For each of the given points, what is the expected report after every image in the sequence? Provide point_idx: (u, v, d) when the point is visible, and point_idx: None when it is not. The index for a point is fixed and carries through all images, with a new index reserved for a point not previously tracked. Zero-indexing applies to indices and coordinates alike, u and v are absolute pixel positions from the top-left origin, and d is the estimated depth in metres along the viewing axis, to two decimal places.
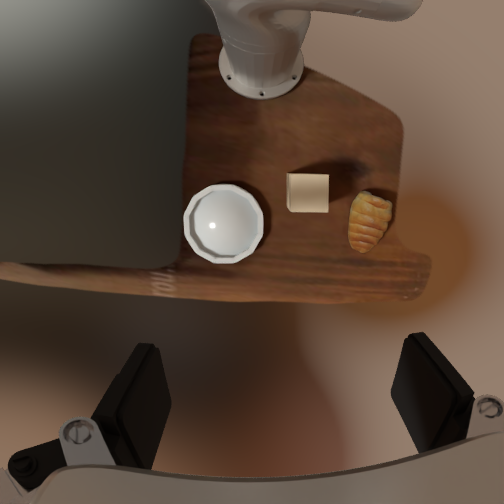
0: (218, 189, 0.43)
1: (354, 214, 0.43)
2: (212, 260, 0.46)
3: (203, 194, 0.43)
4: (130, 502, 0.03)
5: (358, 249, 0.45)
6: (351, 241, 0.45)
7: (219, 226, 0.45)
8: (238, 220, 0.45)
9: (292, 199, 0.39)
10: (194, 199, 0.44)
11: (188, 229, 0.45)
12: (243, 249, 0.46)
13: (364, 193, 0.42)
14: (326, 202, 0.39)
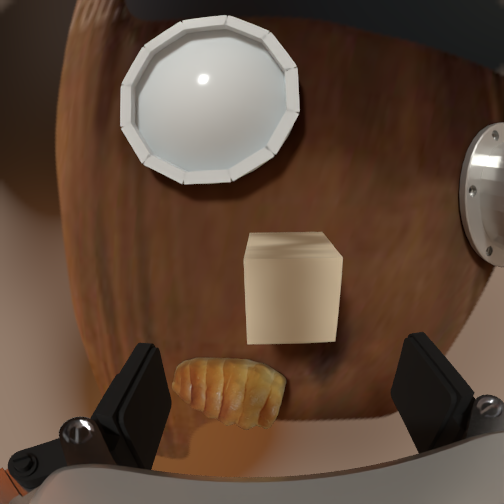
0: (288, 82, 0.17)
1: (241, 374, 0.22)
2: (126, 80, 0.17)
3: (275, 51, 0.16)
4: (130, 502, 0.03)
5: (176, 380, 0.23)
6: (188, 369, 0.23)
7: (200, 86, 0.18)
8: (215, 126, 0.18)
9: (277, 262, 0.15)
10: (264, 34, 0.16)
11: (195, 25, 0.16)
12: (150, 143, 0.19)
13: (283, 387, 0.22)
14: (270, 340, 0.16)
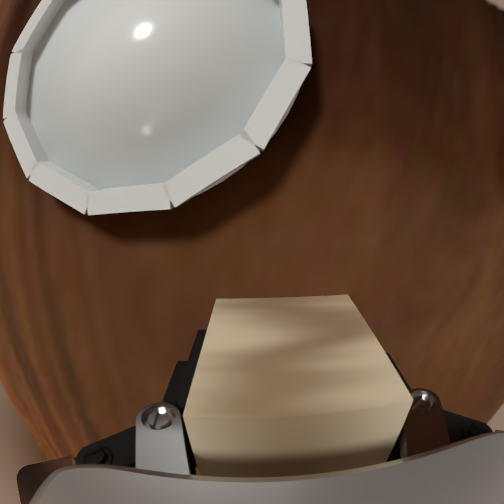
0: (287, 11, 0.07)
1: None
2: (18, 45, 0.07)
3: None
4: (130, 502, 0.03)
5: None
6: None
7: (125, 34, 0.08)
8: (146, 100, 0.09)
9: (263, 423, 0.05)
10: None
11: None
12: (44, 142, 0.09)
13: None
14: None
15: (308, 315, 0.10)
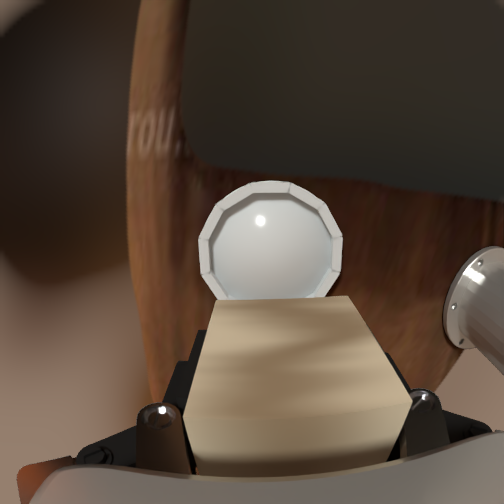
0: (334, 249, 0.24)
1: None
2: (203, 235, 0.24)
3: (327, 222, 0.24)
4: (130, 502, 0.03)
5: None
6: None
7: (266, 245, 0.25)
8: (277, 277, 0.26)
9: (262, 425, 0.05)
10: (319, 205, 0.23)
11: (263, 190, 0.23)
12: (225, 285, 0.26)
13: None
14: None
15: (308, 316, 0.10)
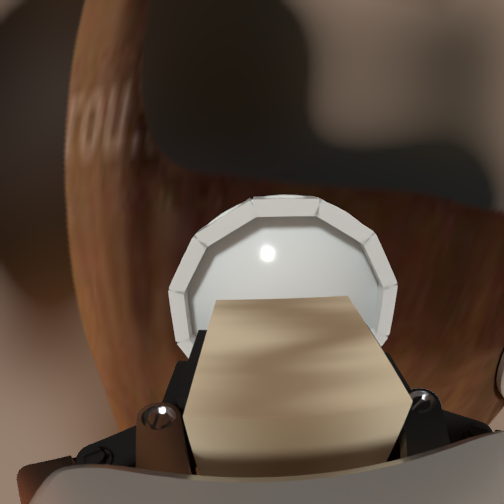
0: (384, 304, 0.15)
1: None
2: (175, 285, 0.15)
3: (377, 263, 0.14)
4: (130, 502, 0.03)
5: None
6: None
7: (277, 298, 0.16)
8: None
9: (262, 424, 0.05)
10: (367, 236, 0.14)
11: (273, 213, 0.14)
12: None
13: None
14: None
15: (308, 316, 0.10)
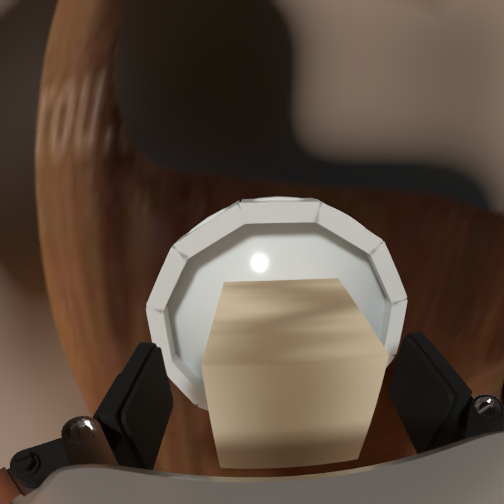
0: (392, 321, 0.13)
1: None
2: (153, 302, 0.13)
3: (386, 276, 0.12)
4: (130, 502, 0.03)
5: None
6: None
7: None
8: None
9: (265, 370, 0.07)
10: (374, 245, 0.12)
11: (265, 218, 0.12)
12: (200, 377, 0.15)
13: None
14: (256, 465, 0.09)
15: (303, 293, 0.12)
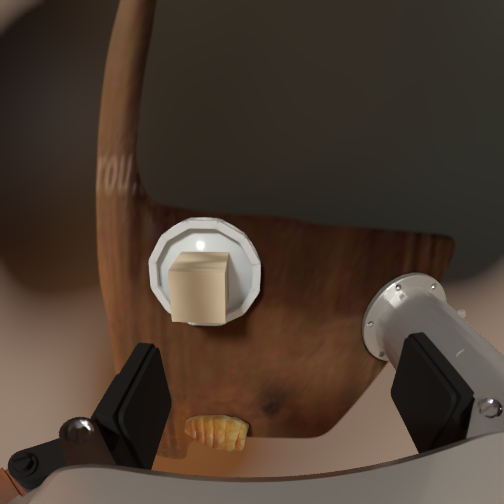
0: (254, 273, 0.31)
1: (222, 425, 0.37)
2: (152, 258, 0.31)
3: (248, 252, 0.31)
4: (130, 502, 0.03)
5: (187, 429, 0.38)
6: (193, 423, 0.38)
7: None
8: None
9: (186, 273, 0.26)
10: (241, 239, 0.30)
11: (196, 226, 0.30)
12: None
13: (246, 430, 0.38)
14: (185, 319, 0.27)
15: (209, 256, 0.30)
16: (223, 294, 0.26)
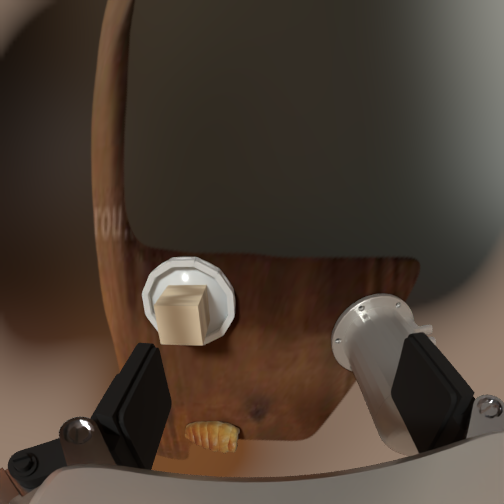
0: (228, 302, 0.37)
1: (215, 429, 0.43)
2: (144, 291, 0.37)
3: (221, 285, 0.36)
4: (130, 502, 0.03)
5: (186, 433, 0.44)
6: (191, 428, 0.43)
7: None
8: None
9: (168, 307, 0.31)
10: (215, 274, 0.36)
11: (177, 265, 0.36)
12: None
13: (236, 433, 0.43)
14: (171, 342, 0.33)
15: (190, 289, 0.36)
16: (198, 322, 0.32)
